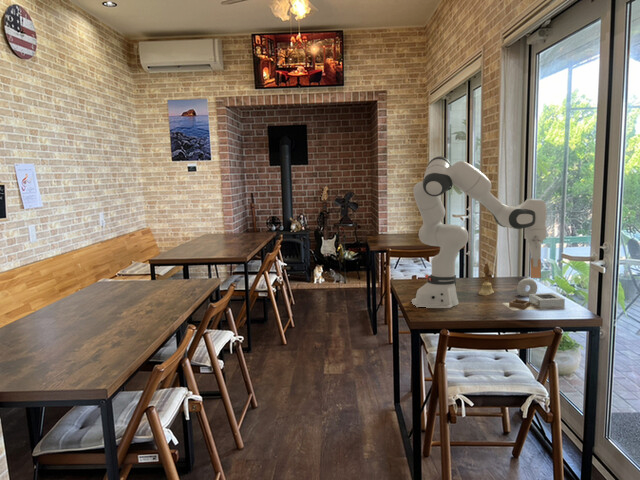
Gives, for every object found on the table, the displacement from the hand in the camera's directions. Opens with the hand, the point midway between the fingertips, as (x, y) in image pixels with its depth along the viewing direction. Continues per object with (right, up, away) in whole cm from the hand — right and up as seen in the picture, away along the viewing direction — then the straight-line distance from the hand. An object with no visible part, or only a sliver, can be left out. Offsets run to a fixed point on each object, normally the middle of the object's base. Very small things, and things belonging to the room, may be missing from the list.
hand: (535, 265), depth 208 cm
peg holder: (-5, -19, +4) cm, 20 cm away
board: (+1, -20, +4) cm, 21 cm away
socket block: (+7, -18, +4) cm, 20 cm away
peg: (+1, -5, 0) cm, 5 cm away
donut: (+6, -18, +22) cm, 29 cm away
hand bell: (-10, -17, +33) cm, 38 cm away
